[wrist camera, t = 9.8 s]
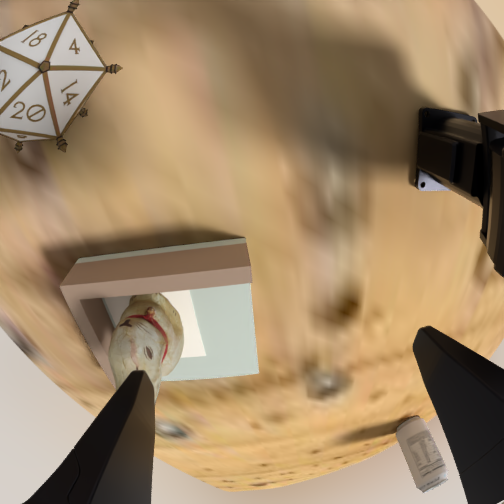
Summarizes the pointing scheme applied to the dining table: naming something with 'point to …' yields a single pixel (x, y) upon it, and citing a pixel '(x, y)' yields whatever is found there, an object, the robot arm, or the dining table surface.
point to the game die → (47, 78)
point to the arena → (173, 303)
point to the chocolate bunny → (146, 339)
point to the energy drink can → (421, 454)
